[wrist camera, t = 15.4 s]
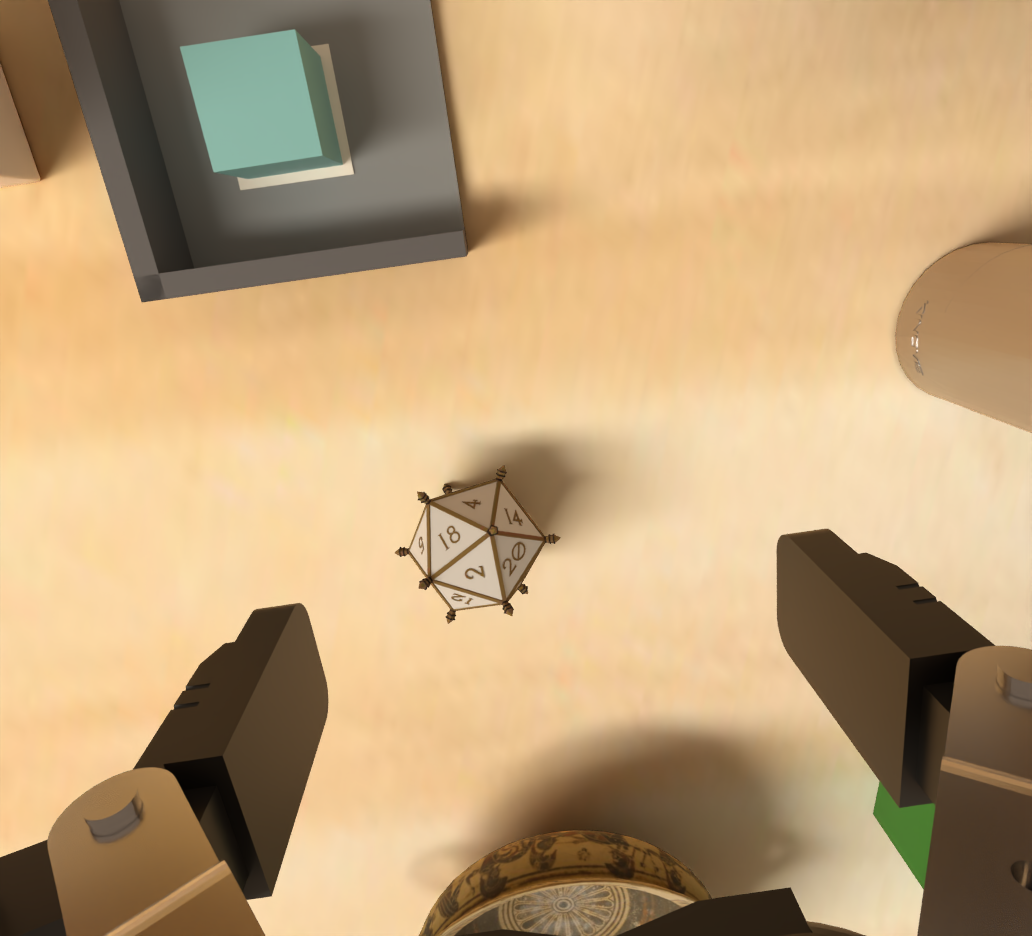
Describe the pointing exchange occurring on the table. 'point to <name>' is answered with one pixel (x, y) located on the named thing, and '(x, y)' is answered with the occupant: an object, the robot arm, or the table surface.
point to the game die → (475, 546)
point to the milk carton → (13, 143)
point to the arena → (279, 198)
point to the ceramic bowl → (565, 887)
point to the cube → (262, 105)
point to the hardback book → (907, 830)
